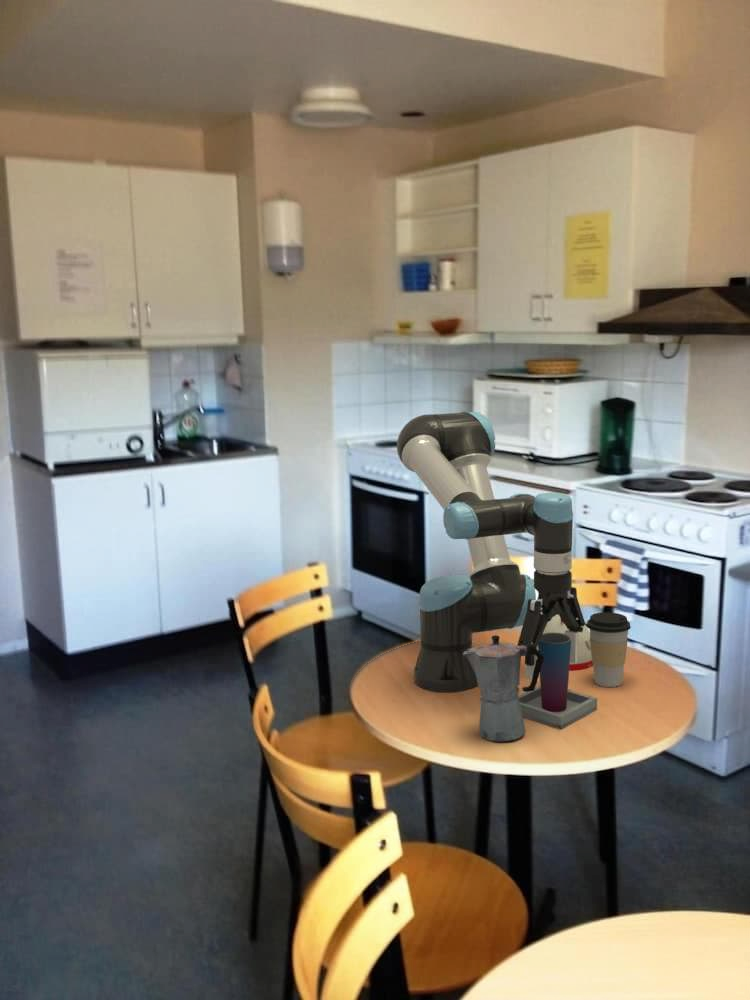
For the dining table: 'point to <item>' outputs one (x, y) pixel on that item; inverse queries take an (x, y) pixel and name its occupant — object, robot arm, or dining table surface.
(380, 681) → the dining table surface
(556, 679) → the cup
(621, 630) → the coffee cup
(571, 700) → the tray
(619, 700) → the dining table surface
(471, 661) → the moka pot
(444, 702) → the dining table surface
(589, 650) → the kitchen timer
